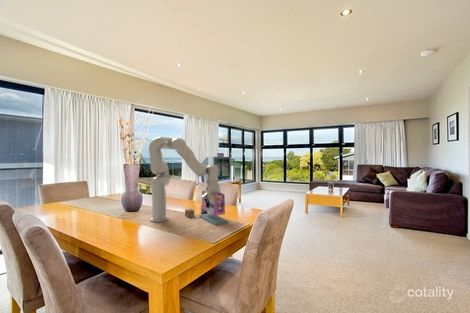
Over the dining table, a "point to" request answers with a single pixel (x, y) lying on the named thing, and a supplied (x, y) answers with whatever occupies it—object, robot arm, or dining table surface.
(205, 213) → the metal canister
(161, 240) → the dining table surface
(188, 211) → the walnut block
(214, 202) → the gum box
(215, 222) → the board
